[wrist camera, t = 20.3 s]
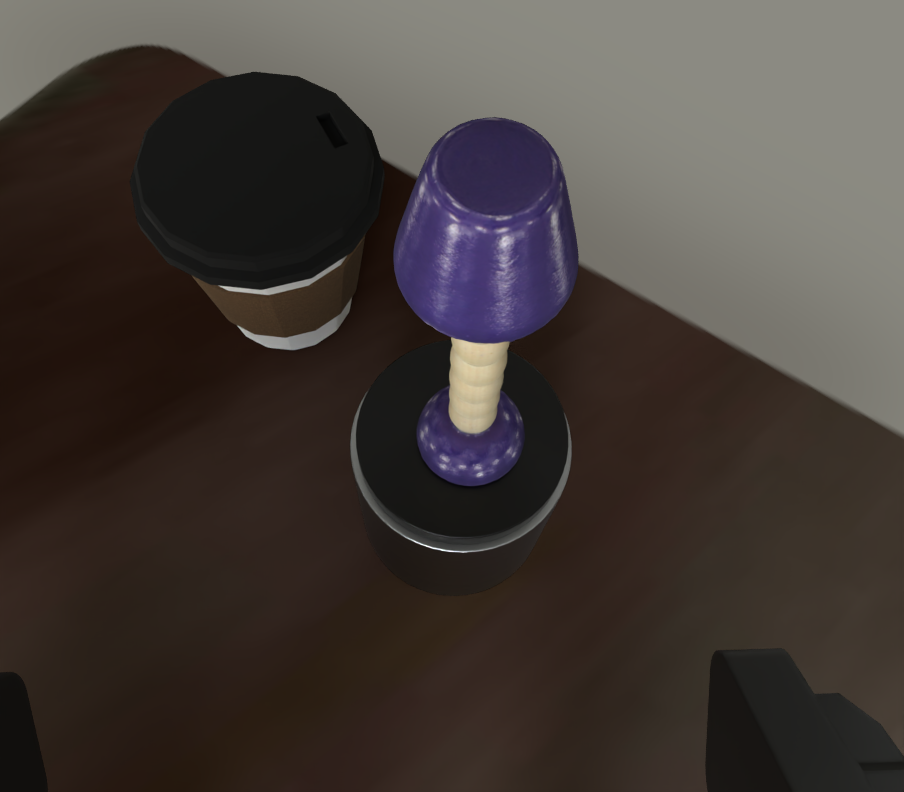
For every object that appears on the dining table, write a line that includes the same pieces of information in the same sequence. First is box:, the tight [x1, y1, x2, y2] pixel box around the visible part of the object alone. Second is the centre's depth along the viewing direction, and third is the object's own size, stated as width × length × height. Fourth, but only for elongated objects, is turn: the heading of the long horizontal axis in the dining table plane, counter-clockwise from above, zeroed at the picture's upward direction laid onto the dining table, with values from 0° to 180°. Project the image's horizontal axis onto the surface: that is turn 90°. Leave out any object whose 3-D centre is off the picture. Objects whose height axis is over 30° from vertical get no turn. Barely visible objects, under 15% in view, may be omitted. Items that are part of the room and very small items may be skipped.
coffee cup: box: [130, 72, 385, 350], centre depth 41 cm, size 11×11×12 cm
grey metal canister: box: [350, 340, 572, 596], centre depth 38 cm, size 9×9×10 cm
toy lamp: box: [394, 117, 578, 486], centre depth 25 cm, size 5×5×17 cm
